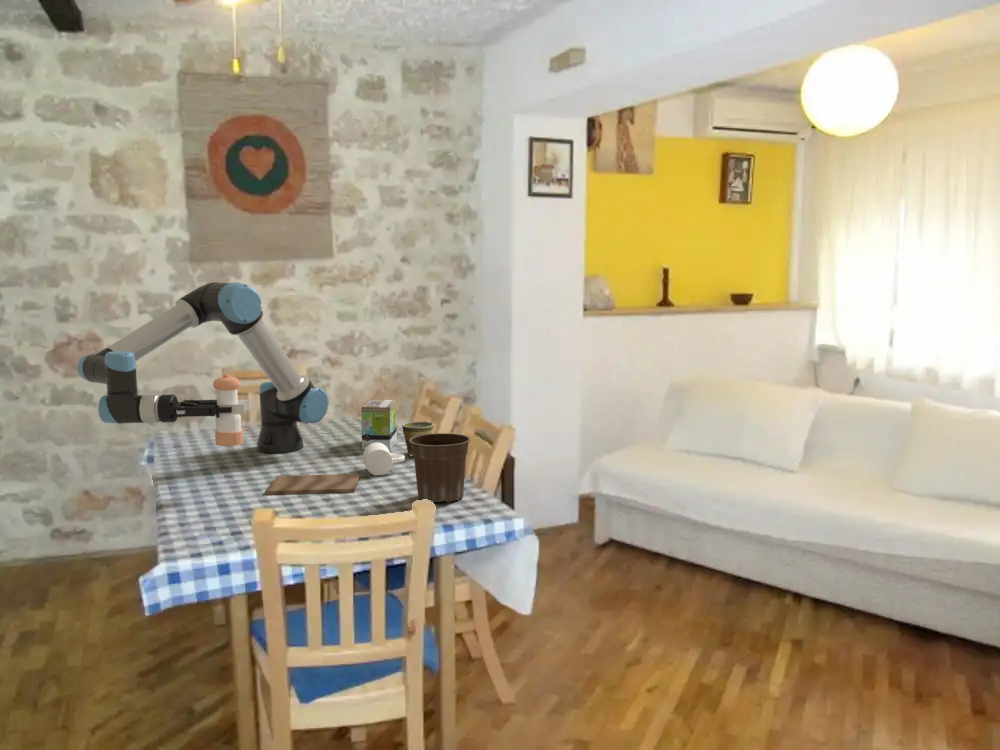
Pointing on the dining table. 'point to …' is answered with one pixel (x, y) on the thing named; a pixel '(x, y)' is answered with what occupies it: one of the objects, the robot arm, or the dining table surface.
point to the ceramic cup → (415, 432)
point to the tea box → (379, 423)
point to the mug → (380, 458)
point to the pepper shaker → (228, 424)
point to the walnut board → (314, 484)
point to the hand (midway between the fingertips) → (247, 407)
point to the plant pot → (440, 465)
